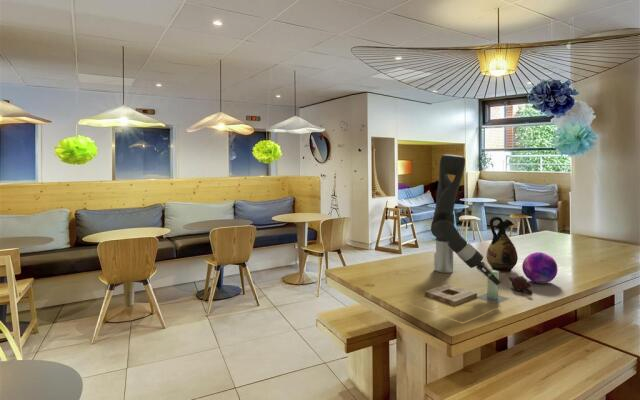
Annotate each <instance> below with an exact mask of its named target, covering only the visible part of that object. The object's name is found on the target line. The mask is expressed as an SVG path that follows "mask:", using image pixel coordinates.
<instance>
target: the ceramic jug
mask: <svg viewBox="0 0 640 400" xmlns="http://www.w3.org/2000/svg"><path fill="white" fill-rule="evenodd" d="M495 221H499V223H497V224H496V226H495V227H494V222H495ZM513 226H514V223H513V221H511V220H510V219H508V218H507V219H504V220H503V219H502V217H500V216H498V215H497V216H493V217H491V218H489V227H490V230H491V234H492V238H491V239H492V240H491V242H490V244H488V247H487V250H486V255H485V257H486V260H487V261H486V262H487V263H488V264H489V266H490V267H491V270H496V271H499V273H502V274H503V273H504V274H510V273H512V270H513V268H515V266H516V265H517V263H518V259H519V257H518V252H517V249H516V247H515V245H514V243H513V242H512V240H511V238H510V237H509V236H508V234H507V232H506V229H508V228H510V227H513ZM495 229H498V231H497V232H496V230H495Z"/></svg>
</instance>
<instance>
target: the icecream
mask: <svg viewBox="0 0 640 400" xmlns="http://www.w3.org/2000/svg"><path fill="white" fill-rule="evenodd" d="M508 279H509V281H510V282H511V287H512V288H513V289H514V290H517V291H520V292H524V291H525V292H526V293H527V294H528V295H533V291H532V290H531V289H530V288H531V287H532V283H531V282H528V280H527V279H526V278H525V277H524V276H523V275H518V276H508Z"/></svg>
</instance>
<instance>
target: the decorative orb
mask: <svg viewBox="0 0 640 400" xmlns="http://www.w3.org/2000/svg"><path fill="white" fill-rule="evenodd" d="M521 265H522V266H521V267H522V272H523V274H524V275H525V277H526V278H527V279H528V280H529V281H531V282H534V283H536V284H547V283H549V282H551V281H553V280H554V279H555V278H556V276H557V274H558V270H559V269H558V264H557V261H556V260H555V258H553V256H552V255H549V254H547V253H545V252H542V251H541V252H533V253H529V254H528V255H527V256H526V257H524V260H523V262H522V264H521Z"/></svg>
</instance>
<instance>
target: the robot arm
mask: <svg viewBox="0 0 640 400" xmlns="http://www.w3.org/2000/svg"><path fill="white" fill-rule="evenodd" d="M439 160H440V161H439V168H438V169H439V171H438V183H437V184H438V185H437V189H436V196H435V197H436V198H435V201H436V203H435V208H434V213H433V218H432V219H433V220H432V222H431V226H430V232H431V234H432V236H434V237H435V253H434V254H433V255H434V262H433V263H434V264H433V265H434V267H433V268H434V269H433V270H435V272H439V273H444V274H448V273H451V274H452V273H454V253H455V254H456V255H457V257H459V259H460V260H461V261H462V262H463V263H464V264H465V265H467V266H468V268H471V269H473V268H476V269H477V270H478V272H480V273H482V275H483V276H484V277H487V279H488V278H489V279H490V280H492V281H493V282H494V283H495V284H496V285H498V286H500V284H501V281H500V280H498V279H497V278H496V277H495V276H494V274H492V273H491V270H492V269H490V268H489V267H488V265H487V264H486V263H485V262H484V261H483V258H484V256H483V254H481V253H480V252H479V251H478V250H477V249H476V248H475V247H474V246H473V245H472V244H471V243H469V242H468V241H467V240H466V239H465V238H464V237H463V236H462V235H461V234H460V232H459V231H458V229H457V228H456V226H455V214H454V209H455V202H456V199H457V195H458V191H459V188H460V185H461V182H462V179H463V175H464V171H465V167H466V158H465V156H463V155H458V154H457V155H456V154H443V155H441V158H440V159H439ZM449 175H451V176H454V178H453V180H451V179H450V177H449ZM489 273H491V274H492V275H491V276H490V277H489V276H488V274H489Z"/></svg>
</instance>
